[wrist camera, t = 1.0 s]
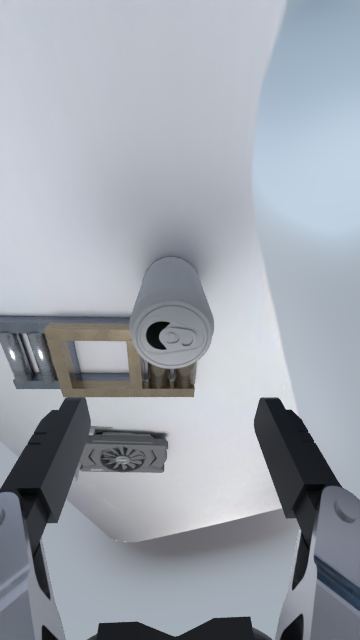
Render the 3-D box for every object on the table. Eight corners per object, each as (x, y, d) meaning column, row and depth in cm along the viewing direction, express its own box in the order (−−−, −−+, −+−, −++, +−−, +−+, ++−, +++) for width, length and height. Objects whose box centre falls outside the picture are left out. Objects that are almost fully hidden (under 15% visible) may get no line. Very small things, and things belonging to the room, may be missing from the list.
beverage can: (146, 251, 25) (126, 290, 14) (203, 259, 25) (226, 302, 15) (142, 304, 28) (124, 369, 17) (194, 310, 28) (207, 377, 18)
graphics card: (69, 484, 40) (60, 444, 35) (76, 462, 44) (69, 422, 38) (163, 485, 42) (169, 447, 36) (163, 464, 45) (169, 426, 40)
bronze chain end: (55, 316, 28) (43, 329, 25) (198, 318, 29) (201, 330, 26) (72, 381, 33) (63, 397, 30) (193, 381, 34) (195, 396, 31)
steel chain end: (-3, 316, 28) (-15, 324, 26) (141, 318, 28) (139, 325, 27) (22, 381, 33) (14, 391, 31) (145, 381, 33) (143, 391, 32)
